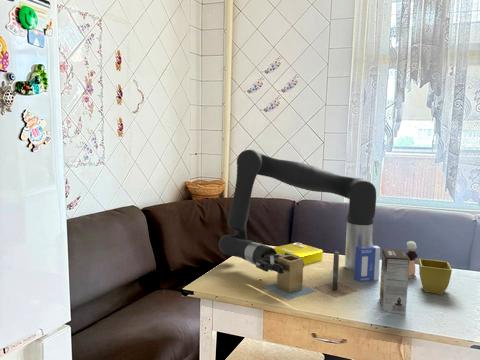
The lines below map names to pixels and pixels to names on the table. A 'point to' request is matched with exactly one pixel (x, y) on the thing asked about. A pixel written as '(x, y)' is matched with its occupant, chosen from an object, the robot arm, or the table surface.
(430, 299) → the table surface
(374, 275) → the walkman
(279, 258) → the bronze sleeve
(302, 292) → the blue peg stand
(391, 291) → the coffee box
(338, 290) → the walnut stand
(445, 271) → the flower pot
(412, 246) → the grandmother figurine
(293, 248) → the element tile
